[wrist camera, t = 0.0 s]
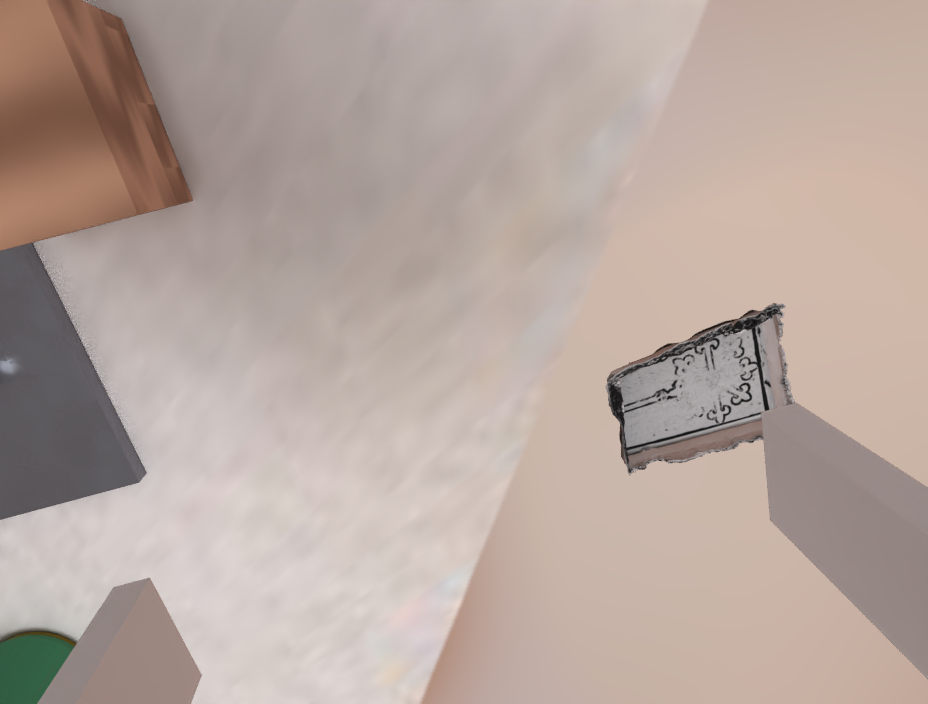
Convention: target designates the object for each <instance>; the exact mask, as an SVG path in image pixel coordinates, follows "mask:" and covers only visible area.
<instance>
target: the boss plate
mask: <svg viewBox="0 0 928 704" xmlns="http://www.w3.org/2000/svg"><path fill="white" fill-rule="evenodd" d="M145 474H146V472H145V470H144V468H143V466H142V464H141V462H140V460H139V458H138V456H137V454H136V452H135V450H134V448H133V446H132V444H131V441H130V439H129V437H128V435H127V433H126V431H125V429H124V427H123V425H122V423H121V421H120V419H119V417H118V415H117V413H116V411H115V409H114V407H113V405H112V403H111V401H110V399H109V397H108V395H107V393H106V391H105V389H104V387H103V385H102V383H101V381H100V379H99V377H98V375H97V373H96V371H95V369H94V367H93V365H92V363H91V361H90V359H89V357H88V355H87V353H86V351H85V349H84V347H83V345H82V343H81V341H80V339H79V337H78V335H77V333H76V331H75V329H74V327H73V325H72V323H71V321H70V319H69V317H68V315H67V313H66V311H65V309H64V307H63V305H62V303H61V301H60V299H59V297H58V295H57V292H56V290H55V288H54V286H53V284H52V282H51V280H50V278H49V276H48V274H47V272H46V270H45V268H44V266H43V264H42V262H41V260H40V258H39V256H38V254H37V252H36V250H35V248H34V246H33V244H32V243H28V244H25V245H21V246H17V247H13V248H9V249H5V250H1V251H0V520H1V519H5V518H9V517H12V516H16V515H20V514H24V513H27V512H31V511H35V510H38V509H42V508H46V507H50V506H53V505H57V504H61V503H65V502H68V501H72V500H76V499H79V498H83V497H87V496H91V495H94V494H98V493H102V492H106V491H109V490H113V489H117V488H120V487H124V486H128V485H132V484H135V483H139V482H140V481H141V480H142V478H143V477H144V476H145Z"/></svg>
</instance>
